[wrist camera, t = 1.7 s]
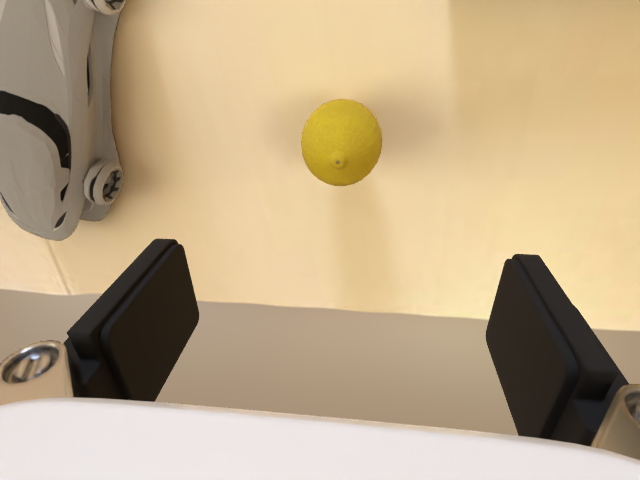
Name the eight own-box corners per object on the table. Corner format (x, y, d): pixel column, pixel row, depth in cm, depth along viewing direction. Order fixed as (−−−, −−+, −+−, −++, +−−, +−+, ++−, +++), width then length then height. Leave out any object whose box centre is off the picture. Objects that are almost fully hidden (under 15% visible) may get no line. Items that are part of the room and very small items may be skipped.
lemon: (391, 102, 29) (398, 133, 22) (365, 169, 32) (365, 214, 25) (320, 79, 28) (305, 103, 22) (301, 149, 31) (283, 189, 25)
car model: (139, -53, 25) (93, -65, 21) (120, 239, 38) (88, 268, 34) (-33, -123, 24) (-118, -150, 20) (6, 201, 37) (-41, 226, 33)
